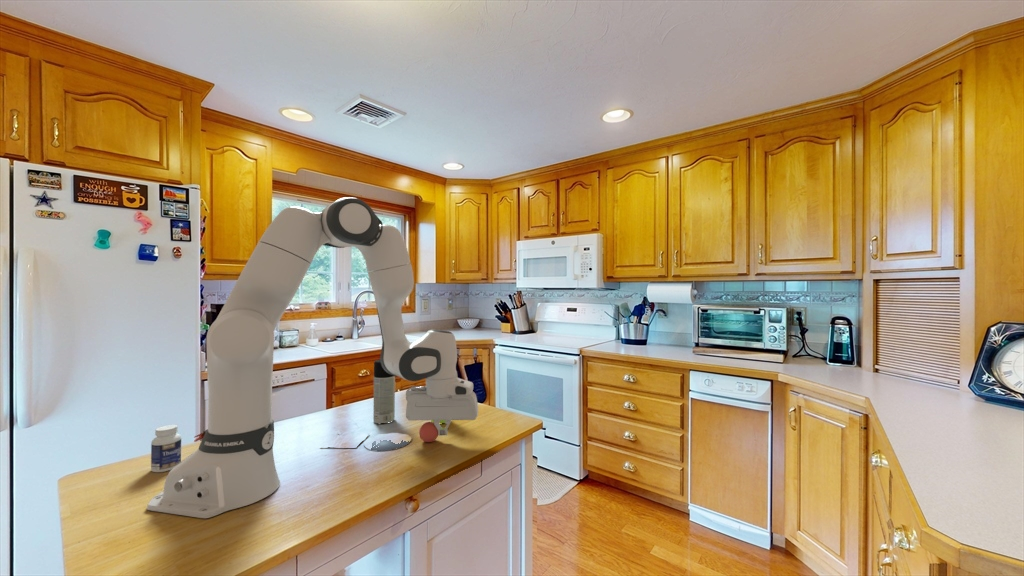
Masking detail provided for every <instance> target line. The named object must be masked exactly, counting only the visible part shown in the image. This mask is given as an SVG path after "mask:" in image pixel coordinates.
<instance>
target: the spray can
mask: <svg viewBox="0 0 1024 576" xmlns="http://www.w3.org/2000/svg"><path fill="white" fill-rule="evenodd" d="M395 388H396V376H395V375H391V374H389V373H387V372H386V371H385V370H384V369H383V367H382V365H381V361H380V358H379V359H376V360H374V363H373V413H372V414H373V417H372V419H373V423H374V422H375V423H374V424H376V423H387V424H389V423H388V422H390V423H392V422H394V421H395V417H396V416H395V415H396V413H395V411H396V409H395V407H396V406H395V404H396V403H395V402H396V401H395V400H396V399H395V398H396V391H395V390H396V389H395ZM393 420H394V421H393ZM391 421H392V422H391Z"/></svg>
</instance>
